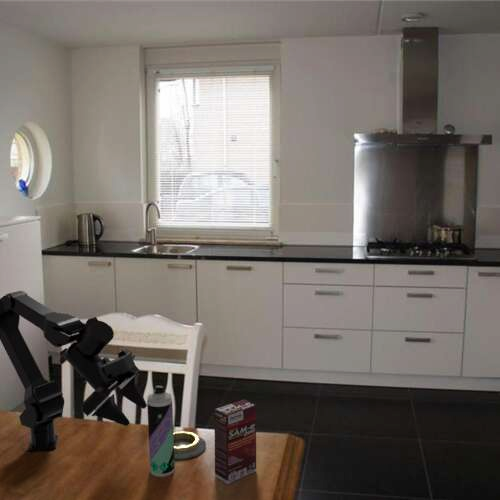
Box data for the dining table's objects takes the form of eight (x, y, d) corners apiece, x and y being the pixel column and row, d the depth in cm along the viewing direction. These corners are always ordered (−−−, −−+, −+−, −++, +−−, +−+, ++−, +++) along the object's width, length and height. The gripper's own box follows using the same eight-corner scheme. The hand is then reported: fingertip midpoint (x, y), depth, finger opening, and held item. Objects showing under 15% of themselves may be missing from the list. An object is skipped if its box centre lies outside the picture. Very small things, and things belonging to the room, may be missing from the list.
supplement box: (228, 485, 135) (226, 415, 133) (214, 476, 139) (212, 408, 136) (258, 471, 141) (257, 404, 138) (243, 463, 145) (242, 398, 142)
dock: (154, 438, 157) (154, 431, 157) (202, 434, 159) (202, 426, 159) (157, 462, 146) (156, 454, 145) (208, 457, 148) (208, 448, 147)
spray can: (145, 471, 142) (141, 386, 138) (164, 462, 146) (160, 379, 142) (160, 479, 138) (157, 393, 135) (179, 470, 142) (176, 385, 139)
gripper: (90, 356, 131) (142, 410, 130) (129, 330, 149) (175, 378, 148) (59, 389, 134) (109, 442, 133) (100, 360, 152) (145, 407, 151)
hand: (137, 415), depth 141 cm, fingers open, 9 cm apart
